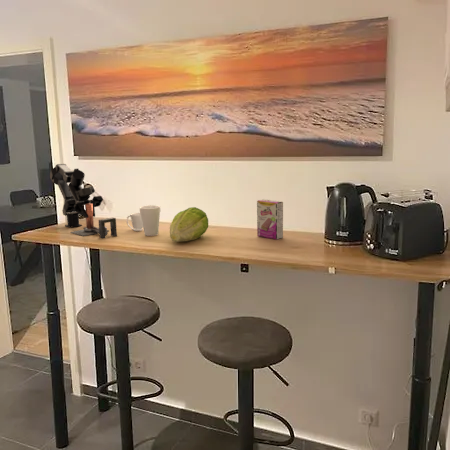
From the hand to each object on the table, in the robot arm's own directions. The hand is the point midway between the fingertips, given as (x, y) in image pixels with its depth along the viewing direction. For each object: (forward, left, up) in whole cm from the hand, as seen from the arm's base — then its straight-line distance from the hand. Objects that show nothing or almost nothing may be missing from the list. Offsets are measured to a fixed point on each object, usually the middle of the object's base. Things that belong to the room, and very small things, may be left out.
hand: (91, 216), depth 233 cm
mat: (-2, 0, -8) cm, 8 cm away
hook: (+4, 0, -7) cm, 8 cm away
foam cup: (+26, +16, -8) cm, 31 cm away
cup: (+12, +17, -8) cm, 22 cm away
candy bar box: (+73, +46, -8) cm, 86 cm away
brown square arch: (+14, 0, -8) cm, 16 cm away
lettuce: (+48, +19, -8) cm, 52 cm away
